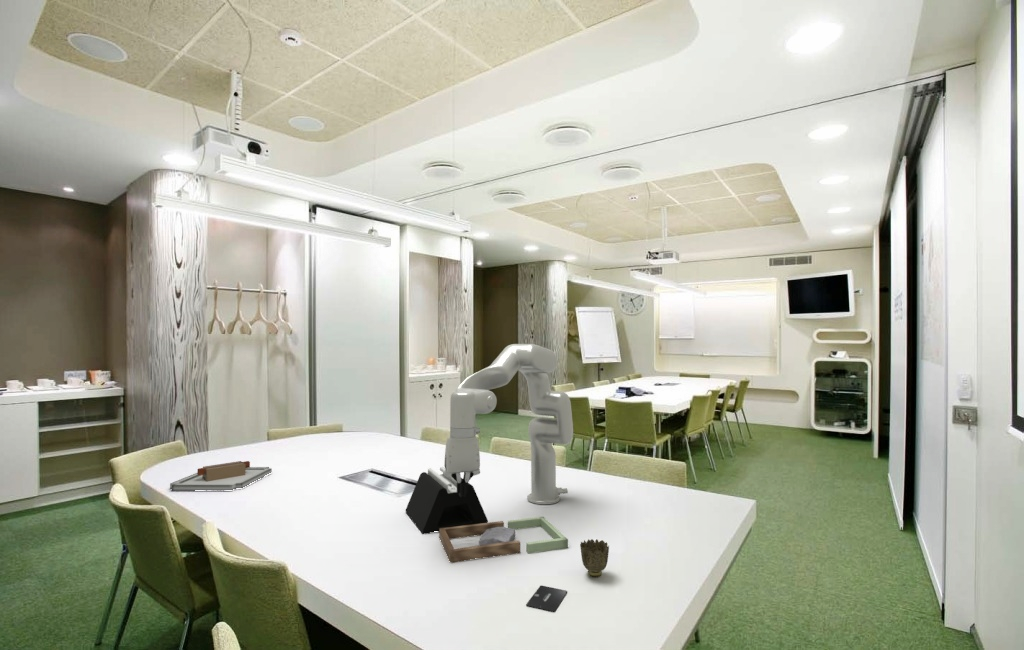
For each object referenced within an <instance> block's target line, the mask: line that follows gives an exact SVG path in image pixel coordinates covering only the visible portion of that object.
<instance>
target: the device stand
mask: <svg viewBox="0 0 1024 650" xmlns="http://www.w3.org/2000/svg"><path fill="white" fill-rule="evenodd" d="M439 470H440V471H441V473H442V474H439V473H438V472H436V471H435V470H434V469H433V468H431V467H430V468H429V467H428V468H427V472H425V471H423V472H421V473H420V475H419V477H418V479H417V481H416V484H415V487H414V489H413V491H412V494H411V496H410V498H409V502H407V505H406V509H405V513H406V514H407V515H408V517H409V518H410V519H411V520H413V521H412V522H413V523H414V524H415V525H416V527H417V528H418V529H419V531H420V532H421V533H422V534H423V535H425V534H424V533H428V534H431V533H430V532H434V531H439V528H447V527H456V526H464V525H473V524H481V523H489V520H488V518H487V515H486V512H485V511H484V508H483V506H482V504H481V502H480V499H479V497H478V495H477V492H476V489H475V487H474V486H473V485H472V484H470V483H469V482H468V492H467V493H466V496H462V497H460V496H459V493H457V481H456V480H455V479H454V478H452V477H446V476H445V475H444V472H445V466H441V467H440V468H439ZM461 480H463V478H462V477H461ZM434 533H435V532H434Z"/></svg>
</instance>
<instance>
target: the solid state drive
mask: <svg viewBox="0 0 1024 650" xmlns="http://www.w3.org/2000/svg"><path fill="white" fill-rule="evenodd" d="M567 593H568V590H566V589H560V588H555V587H552V586H546V585H543V584H542V585H539V587H538V588H537V589H536V590H535V592H534V594H533V595H532V596H531V598H530V599H529V600H528V602H526V604H525V606H526V607H528V608H532V609H536V610H541V611H546V612H548V613H549V612H550V613H555V612H556V611H557V609H558V608H559V607H560V605H561V603H562V602H563V600H564V599H565V597H566V595H567Z"/></svg>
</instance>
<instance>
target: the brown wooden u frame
mask: <svg viewBox="0 0 1024 650" xmlns="http://www.w3.org/2000/svg"><path fill="white" fill-rule="evenodd" d="M495 527H505V522H504V520H500V521H491V522H490V521H489V522H487V523H481V524H473V525H464V526H456V527H447V528H439V532H438V539H439V538H440V539H439V541H440V540H441V541H440V543H441V546H442V545H443V546H442V547H444V548H443V550H444V553H445V552H446V553H445V555H446V554H447V555H446V557H447V556H448V557H447V560H448V559H449V560H448V561H450V562H452V563H458V561H459V562H465V561H464V560H466V561H471V560H470V559H474V560H476V559H475V558H481V559H484V558H483V557H488V558H494V557H493V556H495V557H501V556H500V555H502V556H507V554H509V555H515V554H516V553H517V554H521V541H520V540H514V541H510V542H503V543H495V544H488V545H480V546H479V545H475V546H468V547H467V546H465V547H459V548H458V547H457V548H455V547H454V545H453V544H452V542H451V539H450V538H453V539H459V537H461V538H466V537H467V536H469V537H475V536H474V535H477V536H482V534H483V533H484V532H486V530H487V529H491V528H495ZM467 538H468V537H467ZM450 562H449V563H450Z"/></svg>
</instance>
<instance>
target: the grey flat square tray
mask: <svg viewBox="0 0 1024 650" xmlns="http://www.w3.org/2000/svg"><path fill="white" fill-rule="evenodd" d="M271 472H272V468H271V467H269V466H251V461H249V460H246V461H241V460H237V461H231V462H225V463H220V464H211V465H205V466H202V467H200V468H197V472H194V473H193V474H191V475H187V476H185V477H183V478H181V479H179V480H178V479H177V480H176V481H173V482H170V483H169V485H170V486H169V490H170V489H172V490H171V492H196V491H195V490H233V489H235V488H243V487H245V486H247V485H249V484H250V483H252V482H254V481H256V480H258V479H260V478H262V477H264V476H265V475H267V474H269V473H271ZM272 473H273V472H272ZM249 486H250V485H249ZM247 487H248V486H247Z"/></svg>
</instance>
